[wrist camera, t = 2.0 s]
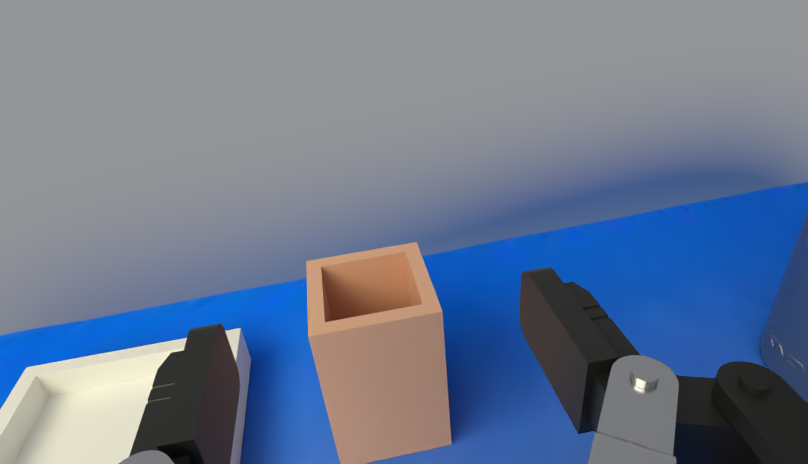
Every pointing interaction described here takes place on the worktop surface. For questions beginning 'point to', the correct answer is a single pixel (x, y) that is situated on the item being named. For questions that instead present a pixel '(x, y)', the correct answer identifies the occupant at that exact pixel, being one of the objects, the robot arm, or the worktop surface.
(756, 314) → the worktop surface
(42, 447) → the tray
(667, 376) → the robot arm
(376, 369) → the cup
